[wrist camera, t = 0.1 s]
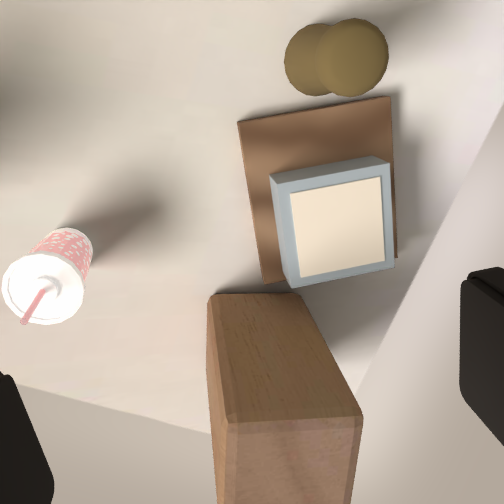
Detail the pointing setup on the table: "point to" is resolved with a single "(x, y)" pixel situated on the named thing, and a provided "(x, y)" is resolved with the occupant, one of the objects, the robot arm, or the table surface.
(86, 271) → the beverage cup
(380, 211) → the slate plinth
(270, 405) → the block
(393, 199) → the brown board
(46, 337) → the table surface
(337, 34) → the olive pawn
